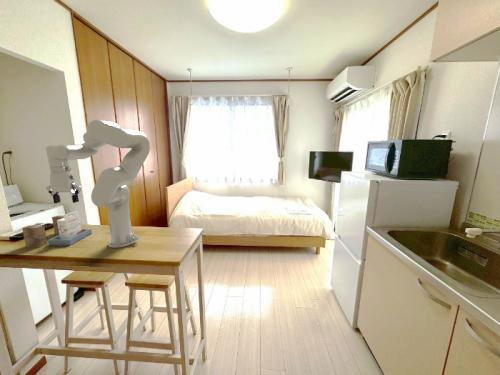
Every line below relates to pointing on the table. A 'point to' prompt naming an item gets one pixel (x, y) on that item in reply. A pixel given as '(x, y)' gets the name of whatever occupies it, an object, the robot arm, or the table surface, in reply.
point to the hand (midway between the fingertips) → (66, 202)
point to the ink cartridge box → (69, 226)
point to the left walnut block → (34, 236)
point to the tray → (68, 242)
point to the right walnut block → (56, 223)
